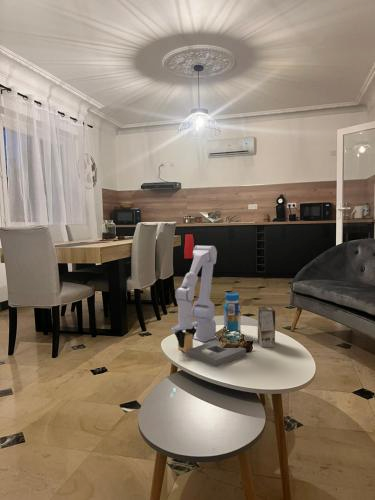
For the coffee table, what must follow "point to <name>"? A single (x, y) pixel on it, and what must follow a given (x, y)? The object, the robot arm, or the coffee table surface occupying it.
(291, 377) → the coffee table surface
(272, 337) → the coffee box
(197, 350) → the socket plate
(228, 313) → the beverage bottle
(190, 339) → the plug
